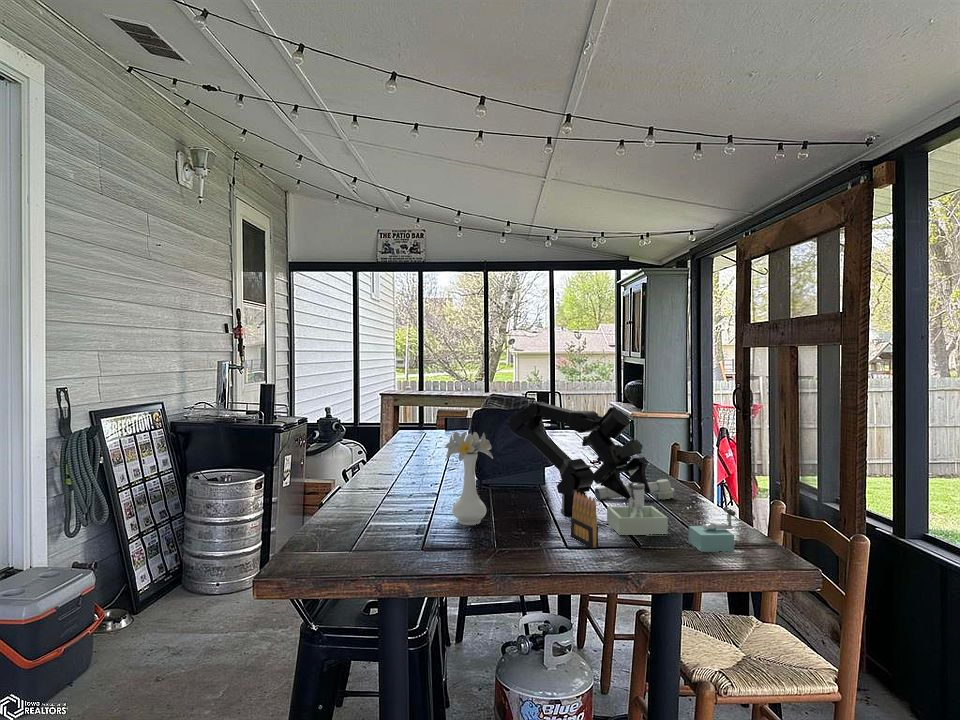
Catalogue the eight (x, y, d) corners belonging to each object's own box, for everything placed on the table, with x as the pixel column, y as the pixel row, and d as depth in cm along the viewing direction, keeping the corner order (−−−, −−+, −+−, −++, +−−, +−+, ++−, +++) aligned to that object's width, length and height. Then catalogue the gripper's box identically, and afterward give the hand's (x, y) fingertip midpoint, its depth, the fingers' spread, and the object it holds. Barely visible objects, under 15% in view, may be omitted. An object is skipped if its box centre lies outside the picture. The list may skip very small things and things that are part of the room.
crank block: (700, 552, 161) (701, 535, 160) (688, 542, 168) (688, 526, 168) (733, 551, 161) (734, 534, 161) (720, 541, 169) (720, 525, 169)
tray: (619, 535, 174) (619, 518, 174) (606, 522, 186) (607, 506, 186) (667, 535, 174) (667, 517, 174) (652, 522, 187) (652, 506, 187)
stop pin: (630, 527, 178) (630, 485, 178) (626, 523, 182) (626, 482, 182) (646, 527, 178) (646, 485, 178) (641, 522, 183) (641, 482, 182)
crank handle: (707, 532, 162) (707, 511, 162) (698, 526, 167) (699, 506, 167) (736, 531, 162) (736, 511, 162) (727, 526, 168) (727, 506, 167)
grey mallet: (593, 486, 217) (668, 474, 219) (595, 506, 217) (671, 494, 219) (597, 489, 212) (674, 477, 214) (600, 510, 212) (677, 498, 214)
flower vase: (483, 512, 197) (484, 426, 196) (498, 530, 178) (498, 435, 178) (439, 514, 194) (439, 427, 193) (449, 532, 176) (449, 436, 175)
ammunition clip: (598, 548, 163) (599, 498, 163) (591, 549, 163) (592, 499, 162) (576, 536, 173) (577, 489, 173) (570, 537, 173) (570, 490, 172)
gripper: (602, 433, 177) (638, 482, 169) (642, 427, 189) (677, 472, 182) (578, 459, 182) (611, 508, 175) (618, 452, 195) (651, 497, 188)
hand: (639, 495), depth 180 cm, fingers open, 9 cm apart
